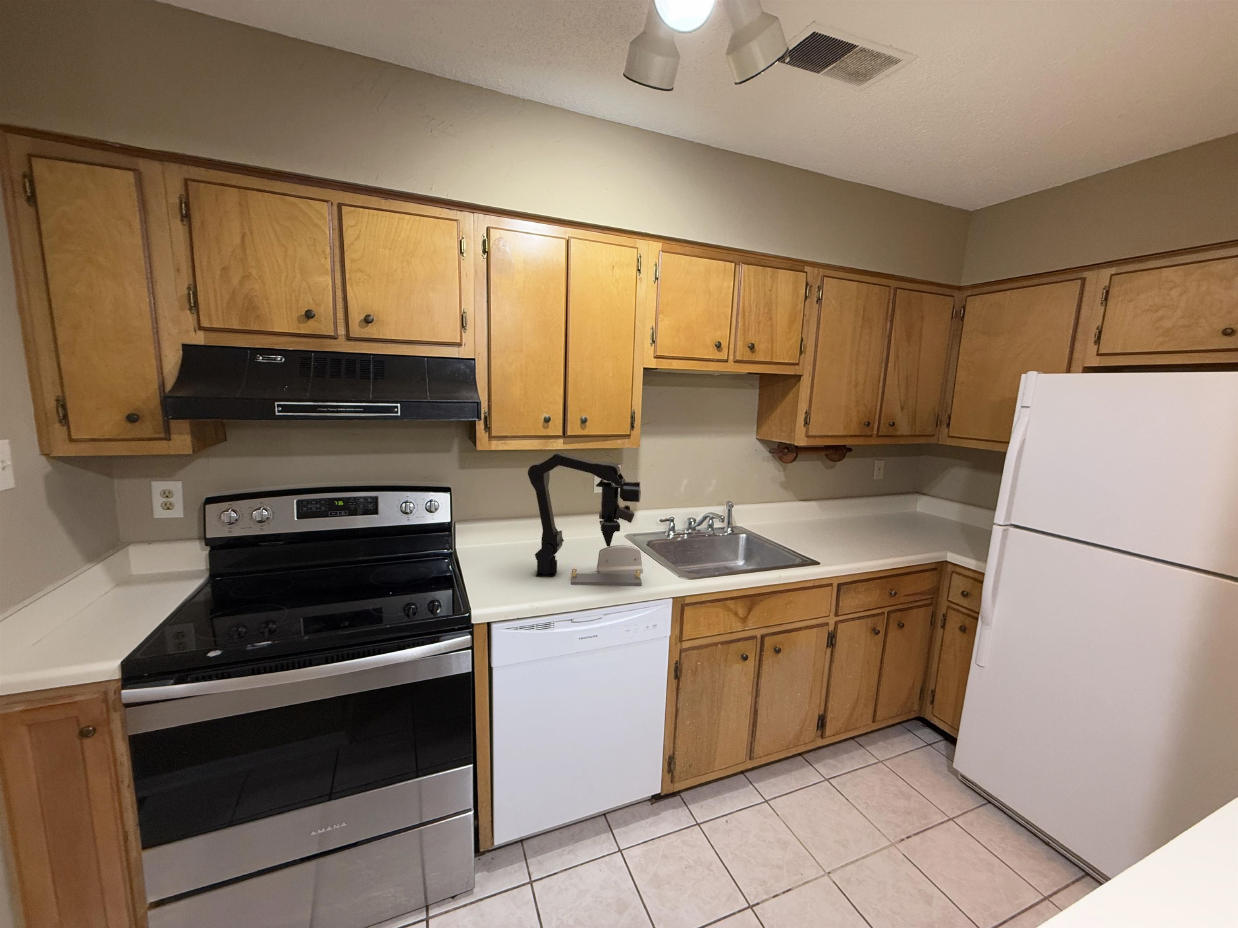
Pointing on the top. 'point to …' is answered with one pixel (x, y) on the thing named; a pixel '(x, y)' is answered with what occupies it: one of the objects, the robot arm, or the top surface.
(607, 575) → the plate
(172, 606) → the top surface
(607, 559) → the curved beige panel
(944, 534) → the top surface
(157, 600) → the top surface
